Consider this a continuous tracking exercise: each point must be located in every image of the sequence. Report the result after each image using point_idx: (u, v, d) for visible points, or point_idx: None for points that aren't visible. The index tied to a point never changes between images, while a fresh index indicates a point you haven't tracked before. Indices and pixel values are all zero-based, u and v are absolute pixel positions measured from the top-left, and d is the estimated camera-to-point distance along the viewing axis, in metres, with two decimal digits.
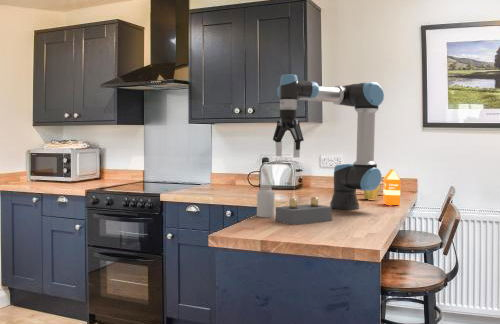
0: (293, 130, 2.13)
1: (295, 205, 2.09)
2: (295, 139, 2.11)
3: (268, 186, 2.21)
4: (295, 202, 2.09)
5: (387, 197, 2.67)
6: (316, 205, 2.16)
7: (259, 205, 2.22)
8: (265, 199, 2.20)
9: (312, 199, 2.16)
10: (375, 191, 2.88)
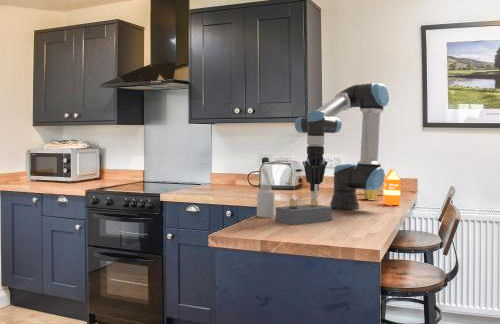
0: (311, 170, 2.15)
1: (295, 205, 2.09)
2: None
3: (268, 186, 2.21)
4: (295, 202, 2.09)
5: (387, 197, 2.67)
6: None
7: (259, 205, 2.22)
8: (265, 199, 2.20)
9: (312, 201, 2.16)
10: (375, 191, 2.88)
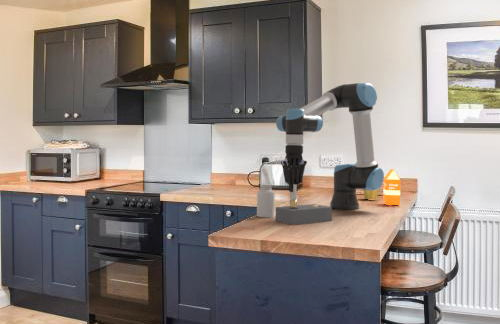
0: (289, 170, 2.09)
1: (295, 206, 2.09)
2: None
3: (268, 186, 2.21)
4: (295, 203, 2.09)
5: (387, 197, 2.67)
6: None
7: (259, 205, 2.22)
8: (265, 199, 2.20)
9: None
10: (375, 191, 2.88)
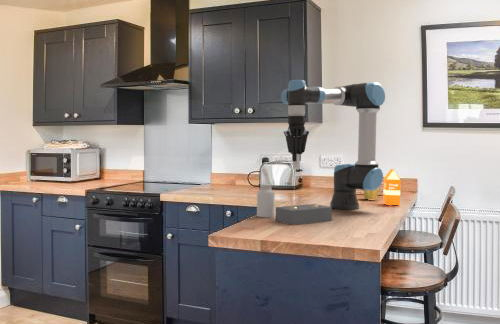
0: (292, 140, 2.14)
1: None
2: None
3: (268, 186, 2.21)
4: None
5: (387, 197, 2.67)
6: None
7: (259, 205, 2.22)
8: (265, 199, 2.20)
9: None
10: (375, 191, 2.88)
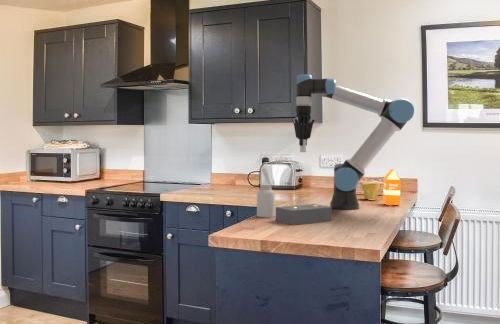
0: (300, 127, 2.45)
1: None
2: None
3: (268, 186, 2.21)
4: None
5: (387, 197, 2.67)
6: None
7: (259, 205, 2.22)
8: (265, 199, 2.20)
9: None
10: (375, 191, 2.88)
